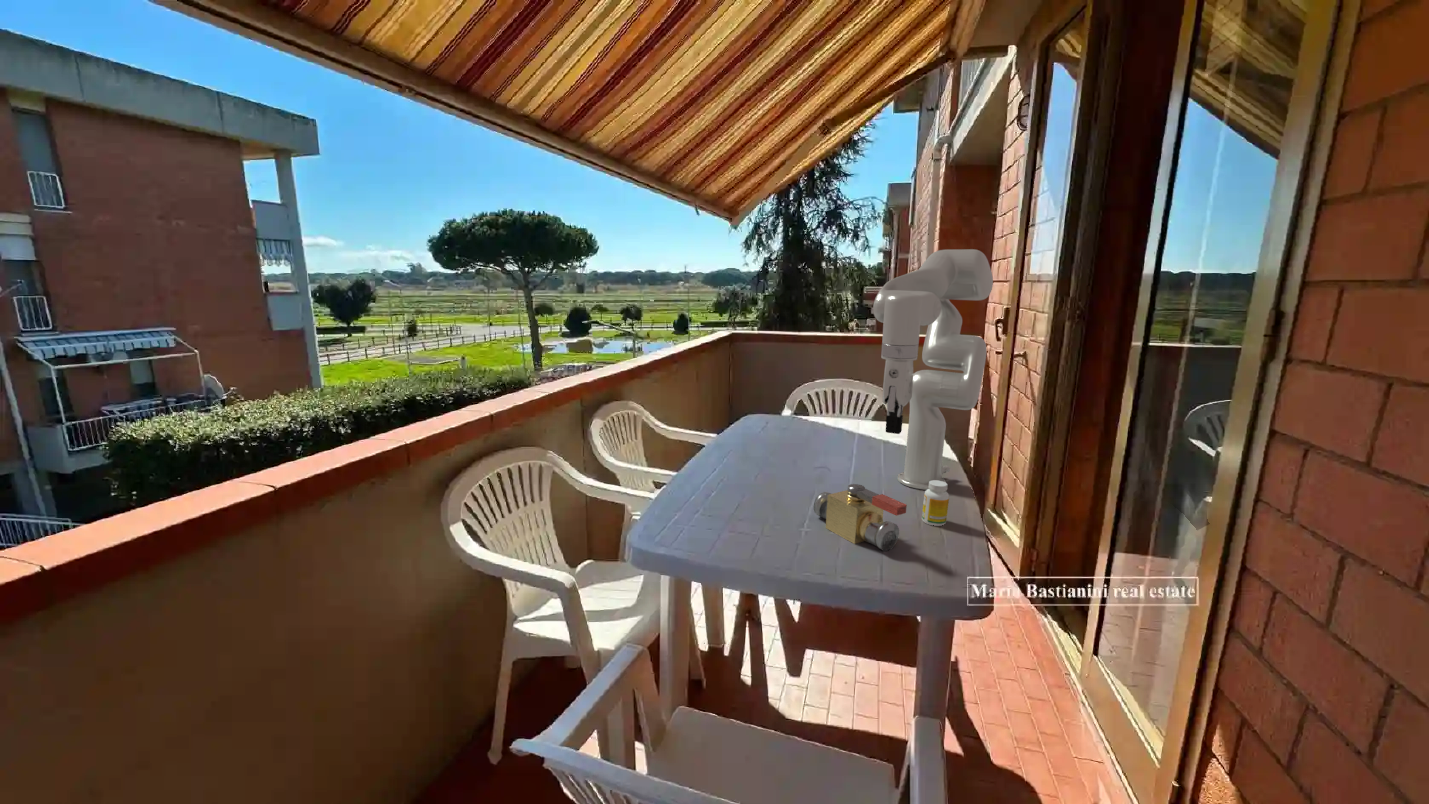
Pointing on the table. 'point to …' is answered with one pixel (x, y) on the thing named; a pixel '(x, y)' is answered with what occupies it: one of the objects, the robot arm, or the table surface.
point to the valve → (856, 519)
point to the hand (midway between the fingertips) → (893, 432)
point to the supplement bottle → (935, 503)
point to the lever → (877, 499)
